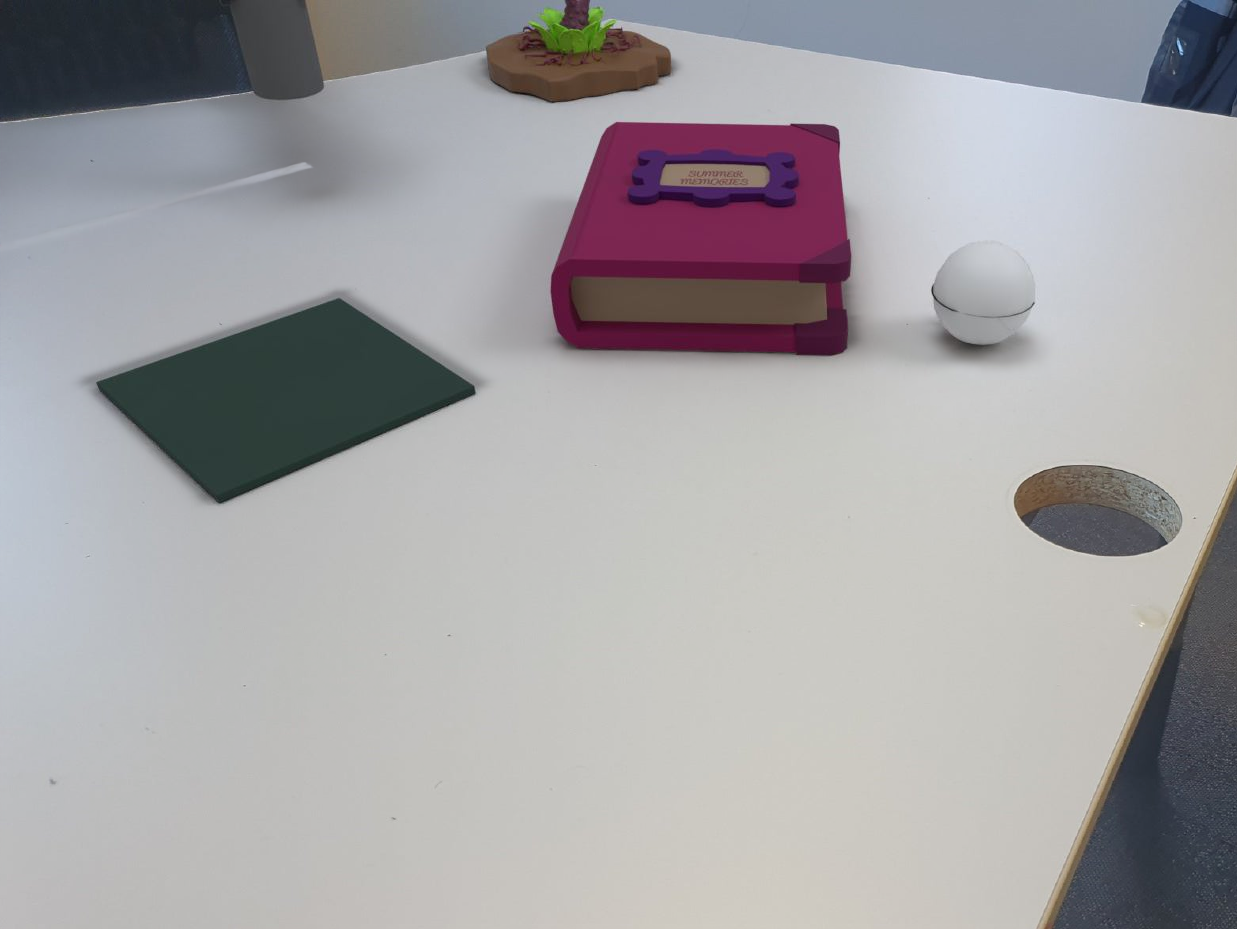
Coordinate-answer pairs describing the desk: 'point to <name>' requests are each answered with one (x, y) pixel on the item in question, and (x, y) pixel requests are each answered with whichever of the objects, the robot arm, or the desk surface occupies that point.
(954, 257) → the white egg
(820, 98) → the desk surface
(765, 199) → the book
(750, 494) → the desk surface
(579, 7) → the plant
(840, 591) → the desk surface
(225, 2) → the robot arm
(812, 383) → the desk surface
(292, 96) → the bottle
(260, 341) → the mat
